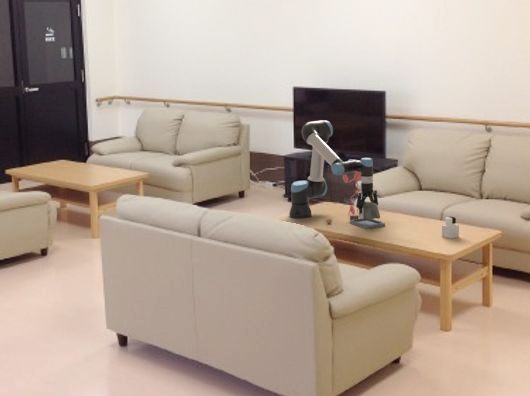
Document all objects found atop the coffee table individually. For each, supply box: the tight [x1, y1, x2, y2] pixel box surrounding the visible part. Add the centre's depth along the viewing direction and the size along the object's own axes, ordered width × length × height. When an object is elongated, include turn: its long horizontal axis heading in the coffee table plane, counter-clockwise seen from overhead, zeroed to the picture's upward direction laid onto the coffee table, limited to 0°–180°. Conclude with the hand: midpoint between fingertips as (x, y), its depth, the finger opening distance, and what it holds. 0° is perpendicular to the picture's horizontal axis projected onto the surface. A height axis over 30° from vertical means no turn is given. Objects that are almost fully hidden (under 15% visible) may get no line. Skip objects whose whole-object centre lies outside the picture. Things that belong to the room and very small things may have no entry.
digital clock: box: [358, 200, 381, 220], centre depth 502 cm, size 16×9×11 cm, turn 30°
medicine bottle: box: [441, 216, 460, 240], centre depth 467 cm, size 7×7×12 cm
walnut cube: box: [349, 214, 360, 221], centre depth 515 cm, size 4×4×4 cm
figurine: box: [342, 172, 361, 215], centre depth 530 cm, size 15×26×35 cm, turn 135°
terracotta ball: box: [325, 217, 333, 225], centre depth 511 cm, size 4×4×4 cm
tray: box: [349, 218, 386, 230], centre depth 504 cm, size 13×19×2 cm
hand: (367, 217), depth 503 cm, fingers closed on digital clock, 8 cm apart
